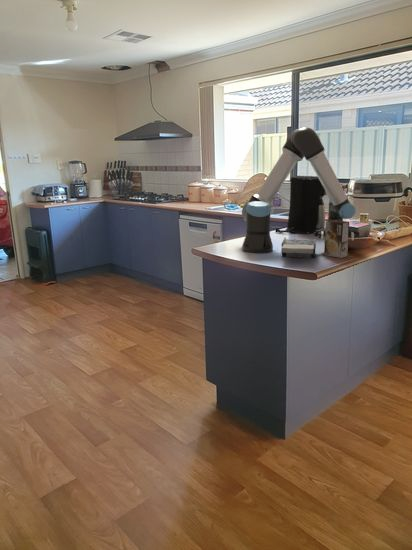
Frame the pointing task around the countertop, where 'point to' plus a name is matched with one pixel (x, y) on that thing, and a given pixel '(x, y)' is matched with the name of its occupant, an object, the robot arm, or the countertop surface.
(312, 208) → the coffee maker
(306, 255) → the bed
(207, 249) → the countertop surface
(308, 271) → the countertop surface
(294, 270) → the countertop surface
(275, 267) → the countertop surface
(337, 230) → the coffee box
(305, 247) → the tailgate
